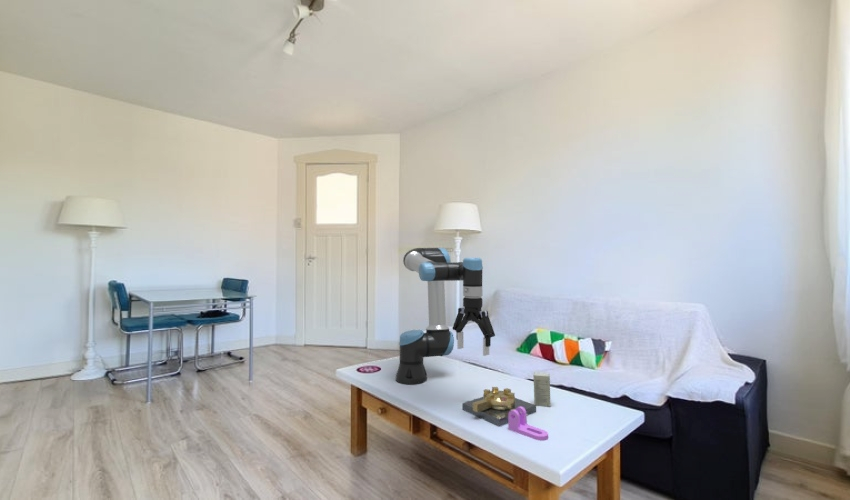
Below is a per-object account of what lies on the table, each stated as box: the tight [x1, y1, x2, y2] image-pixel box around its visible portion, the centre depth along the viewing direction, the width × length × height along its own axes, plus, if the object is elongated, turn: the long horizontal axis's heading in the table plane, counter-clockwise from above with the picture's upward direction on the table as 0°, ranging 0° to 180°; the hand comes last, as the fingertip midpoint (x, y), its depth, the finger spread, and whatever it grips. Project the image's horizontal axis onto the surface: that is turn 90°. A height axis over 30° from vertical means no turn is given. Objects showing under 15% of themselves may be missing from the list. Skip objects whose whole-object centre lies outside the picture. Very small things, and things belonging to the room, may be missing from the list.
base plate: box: [462, 396, 537, 427], centre depth 149 cm, size 22×21×3 cm
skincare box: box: [532, 371, 552, 407], centre depth 157 cm, size 6×4×12 cm
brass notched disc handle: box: [473, 386, 516, 412], centre depth 148 cm, size 19×12×4 cm, turn 127°
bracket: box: [507, 406, 549, 441], centre depth 131 cm, size 13×6×7 cm, turn 44°
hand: (472, 351), depth 151 cm, fingers open, 13 cm apart
